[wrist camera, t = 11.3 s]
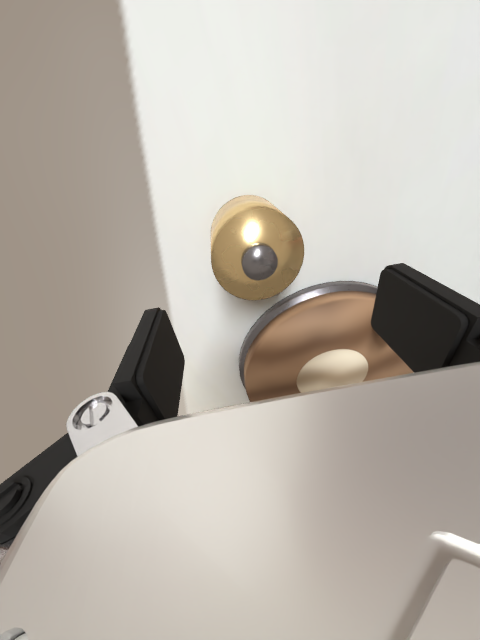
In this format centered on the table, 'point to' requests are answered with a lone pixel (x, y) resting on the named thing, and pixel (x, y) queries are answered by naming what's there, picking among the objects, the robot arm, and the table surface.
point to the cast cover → (254, 248)
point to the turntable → (319, 348)
